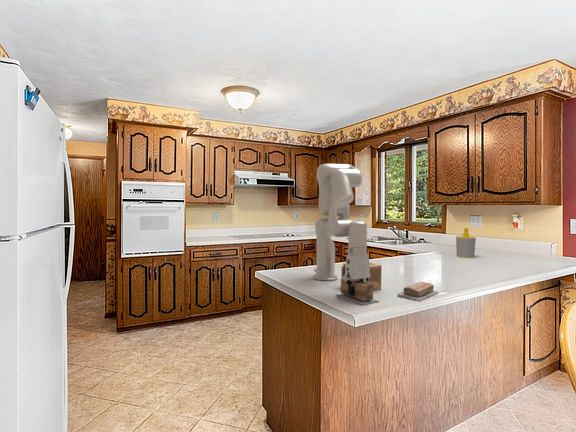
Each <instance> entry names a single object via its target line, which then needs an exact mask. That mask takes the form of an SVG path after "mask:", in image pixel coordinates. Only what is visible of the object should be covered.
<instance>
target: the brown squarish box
mask: <svg viewBox="0 0 576 432" xmlns="http://www.w3.org/2000/svg"><path fill="white" fill-rule="evenodd" d="M369 264H370V274H371V276H370V278H369V279H368V281H367V283H370V284H373V292H375V291H380V290H382V268H383V267H382V265H381V264H376V263H372V262H369ZM345 266H346V262H345V263H344V262H343V263H342V265H341V278H340V280H341V279H342V278H343V276H344V275H345ZM358 280H359V279H358Z"/></svg>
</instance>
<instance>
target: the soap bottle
mask: <svg viewBox="0 0 576 432" xmlns="http://www.w3.org/2000/svg"><path fill="white" fill-rule="evenodd" d="M463 230H464V231H463V233H462V235H459V236H458V235H457V236H455V245H456V246H455V248H456V249H455V250H456V257H457V258H463V259H473V258H475V252H476V251H475V249H476V239H477V237H475V236H470V233H469V227H464V228H463Z"/></svg>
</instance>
